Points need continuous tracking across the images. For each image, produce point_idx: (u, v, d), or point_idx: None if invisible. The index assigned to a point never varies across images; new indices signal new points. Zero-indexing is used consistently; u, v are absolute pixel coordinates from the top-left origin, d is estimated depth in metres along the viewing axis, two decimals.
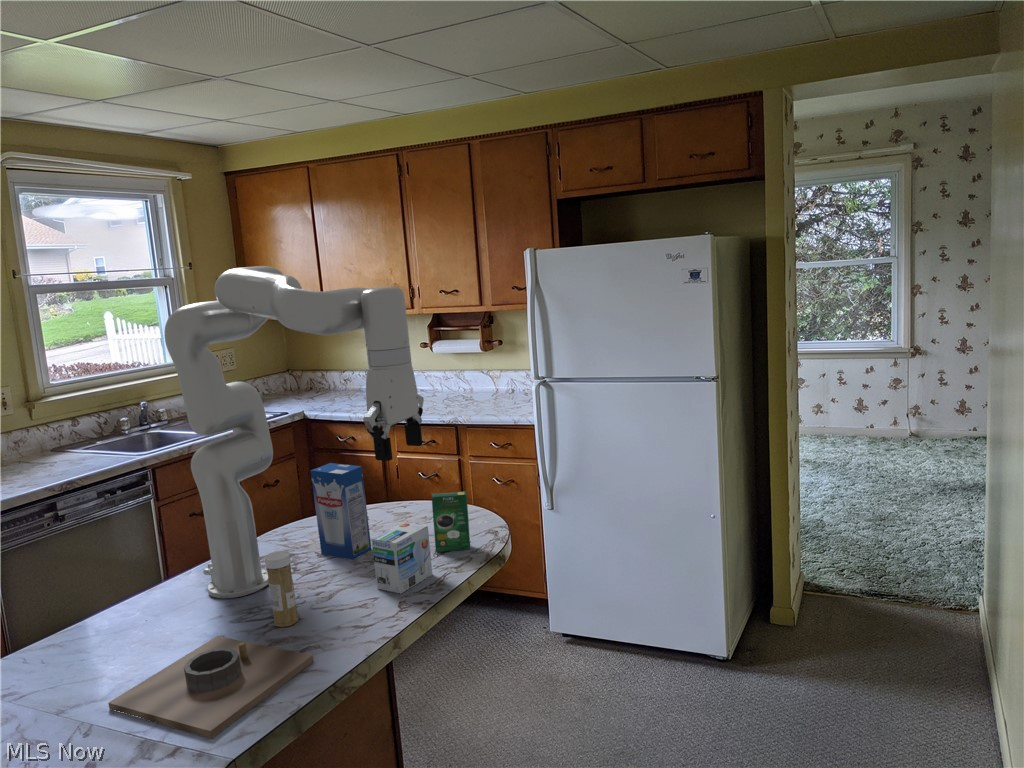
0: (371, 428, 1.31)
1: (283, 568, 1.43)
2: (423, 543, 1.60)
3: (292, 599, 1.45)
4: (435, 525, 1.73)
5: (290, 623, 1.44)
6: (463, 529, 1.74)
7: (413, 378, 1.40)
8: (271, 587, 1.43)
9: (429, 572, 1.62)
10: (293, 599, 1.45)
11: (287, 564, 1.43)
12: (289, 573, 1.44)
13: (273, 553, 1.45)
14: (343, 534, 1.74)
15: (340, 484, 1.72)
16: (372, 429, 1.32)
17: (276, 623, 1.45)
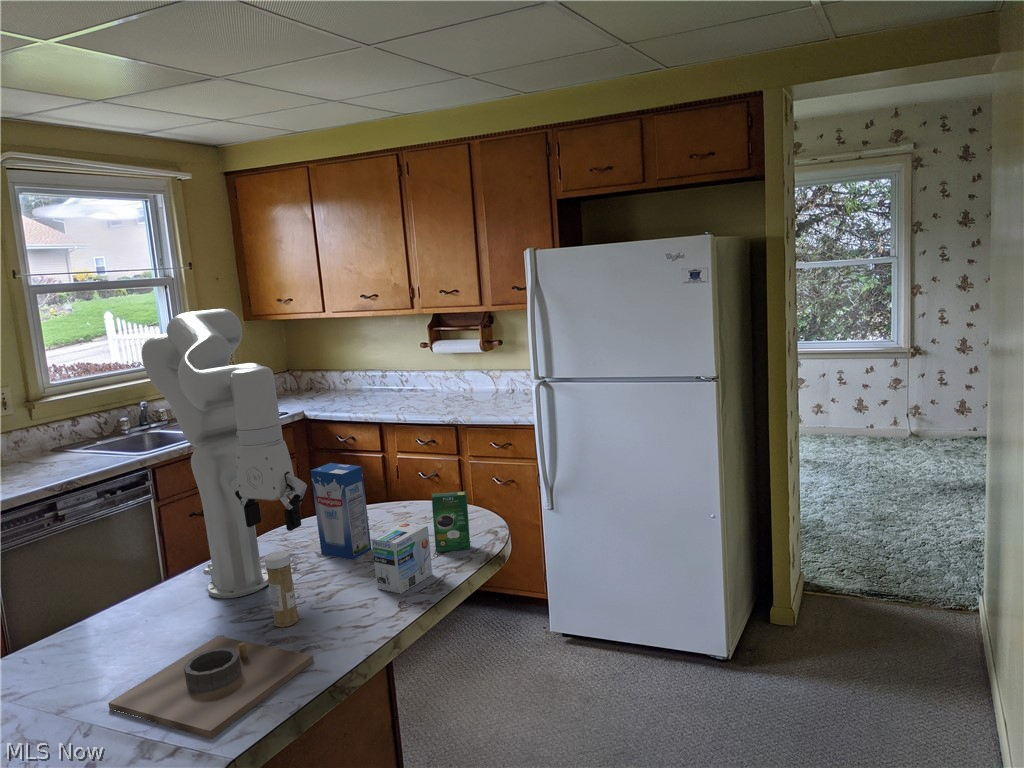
0: (303, 494, 1.39)
1: (283, 568, 1.43)
2: (423, 543, 1.60)
3: (292, 599, 1.45)
4: (435, 525, 1.73)
5: (290, 623, 1.44)
6: (463, 529, 1.74)
7: None
8: (271, 587, 1.43)
9: (429, 572, 1.62)
10: (293, 599, 1.45)
11: (287, 564, 1.43)
12: (289, 573, 1.44)
13: (273, 553, 1.45)
14: (343, 534, 1.74)
15: (340, 484, 1.72)
16: (303, 495, 1.39)
17: (276, 623, 1.45)
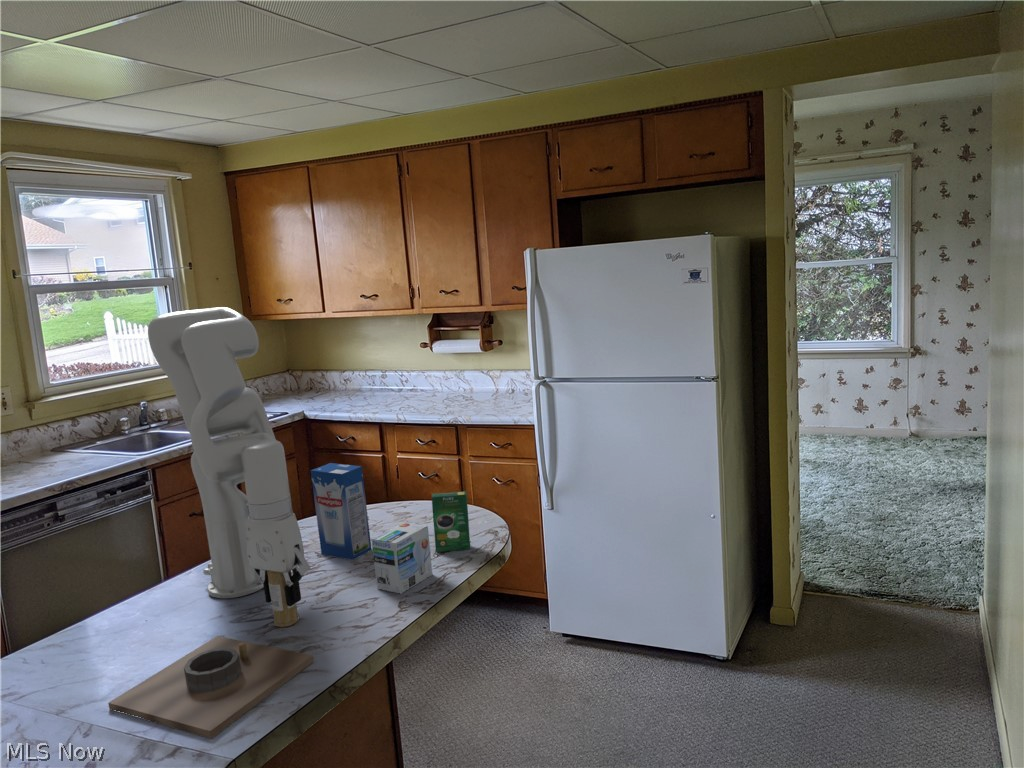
0: (303, 573, 1.42)
1: None
2: (423, 543, 1.60)
3: None
4: (435, 525, 1.73)
5: (290, 623, 1.44)
6: (463, 529, 1.74)
7: None
8: (271, 587, 1.43)
9: (429, 572, 1.62)
10: None
11: None
12: None
13: None
14: (343, 534, 1.74)
15: (340, 484, 1.72)
16: (303, 574, 1.43)
17: (276, 623, 1.45)
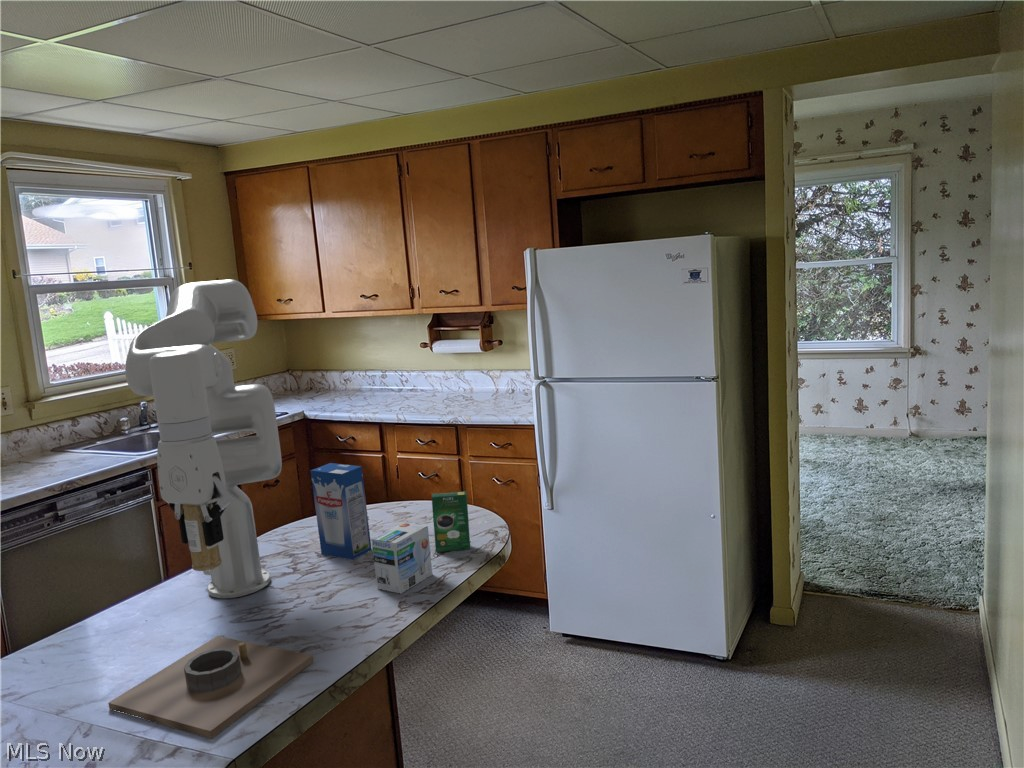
0: (225, 507, 1.21)
1: None
2: (423, 543, 1.60)
3: None
4: (435, 525, 1.73)
5: (210, 566, 1.23)
6: (463, 529, 1.74)
7: None
8: (187, 524, 1.22)
9: (429, 572, 1.62)
10: None
11: None
12: (209, 508, 1.23)
13: None
14: (343, 534, 1.74)
15: (340, 484, 1.72)
16: (224, 508, 1.21)
17: (194, 567, 1.23)
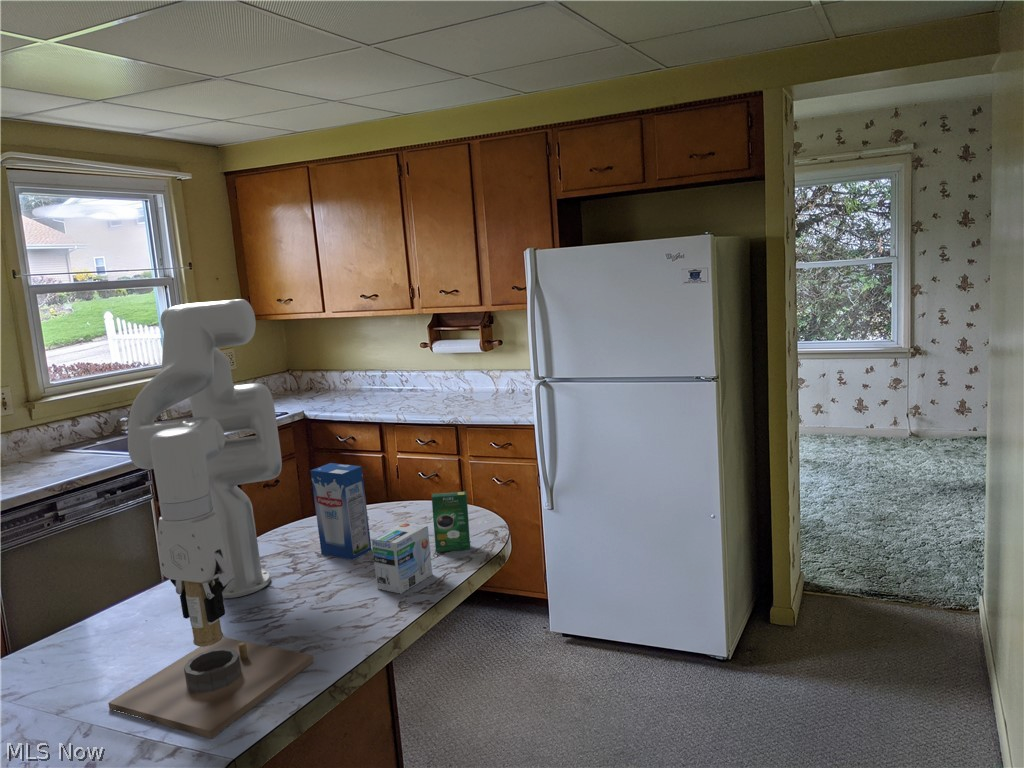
0: (227, 584, 1.21)
1: None
2: (423, 543, 1.60)
3: None
4: (435, 525, 1.73)
5: (212, 642, 1.23)
6: (463, 529, 1.74)
7: None
8: (188, 600, 1.22)
9: (429, 572, 1.62)
10: None
11: None
12: None
13: None
14: (343, 534, 1.74)
15: (340, 484, 1.72)
16: (226, 584, 1.21)
17: (195, 642, 1.23)
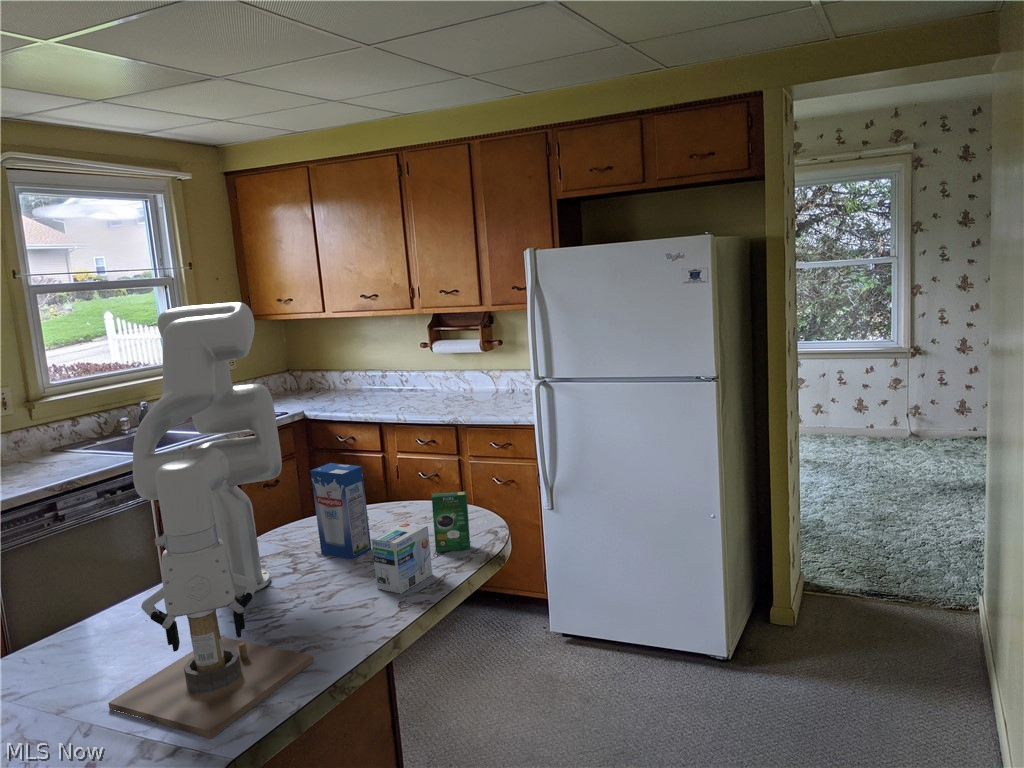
0: None
1: (214, 611, 1.24)
2: (423, 543, 1.60)
3: (222, 646, 1.26)
4: (435, 525, 1.73)
5: None
6: (463, 529, 1.74)
7: None
8: (202, 639, 1.23)
9: (429, 572, 1.62)
10: None
11: None
12: None
13: None
14: (343, 534, 1.74)
15: (340, 484, 1.72)
16: None
17: None
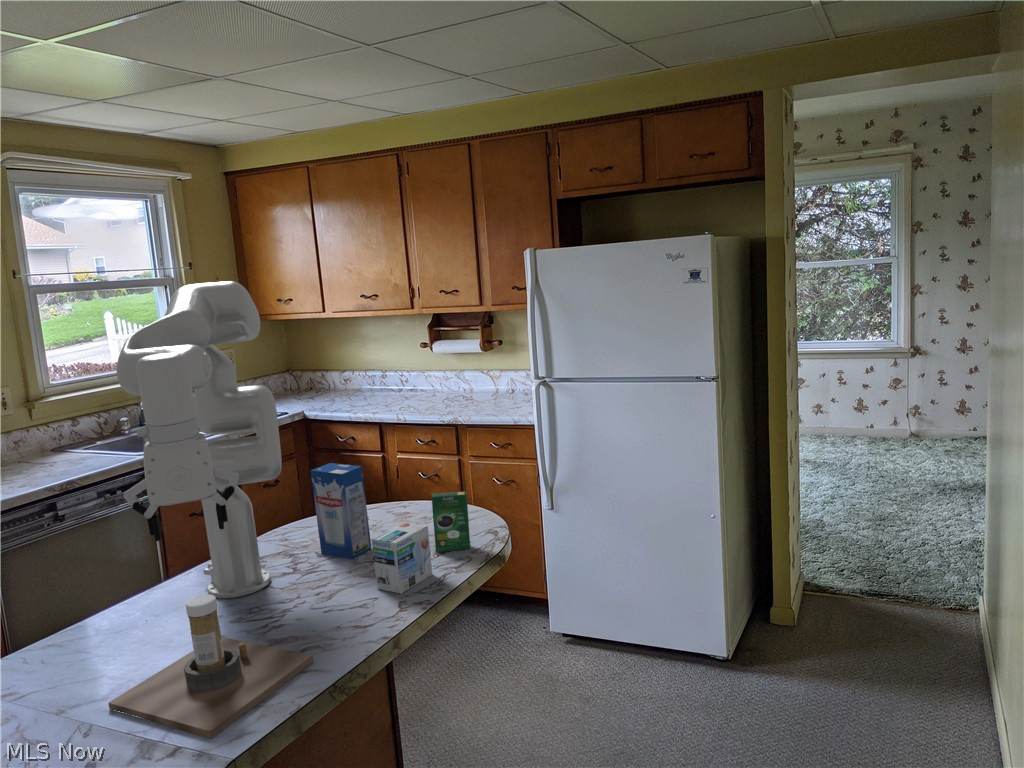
0: None
1: (215, 611, 1.24)
2: (423, 543, 1.60)
3: None
4: (435, 525, 1.73)
5: None
6: (463, 529, 1.74)
7: None
8: (203, 638, 1.23)
9: (429, 572, 1.62)
10: None
11: None
12: None
13: (192, 600, 1.24)
14: (343, 534, 1.74)
15: (340, 484, 1.72)
16: None
17: None
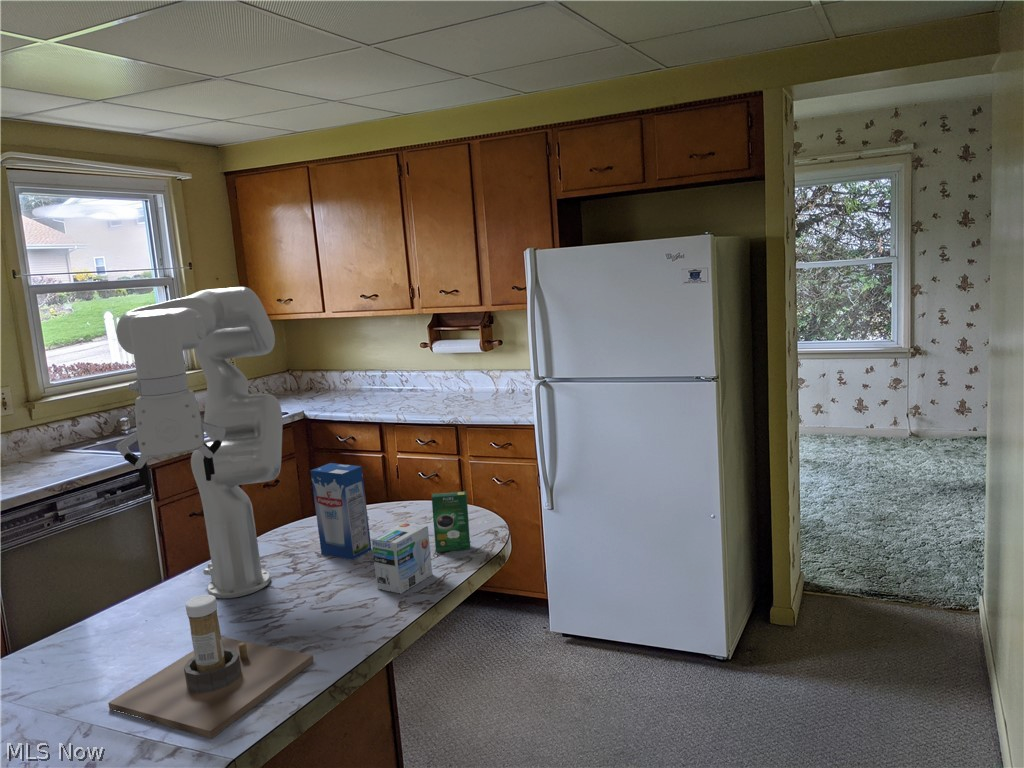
0: None
1: (215, 611, 1.24)
2: (423, 543, 1.60)
3: None
4: (435, 525, 1.73)
5: None
6: (463, 529, 1.74)
7: None
8: (203, 638, 1.23)
9: (429, 572, 1.62)
10: None
11: None
12: None
13: (192, 601, 1.24)
14: (343, 534, 1.74)
15: (340, 484, 1.72)
16: None
17: None
